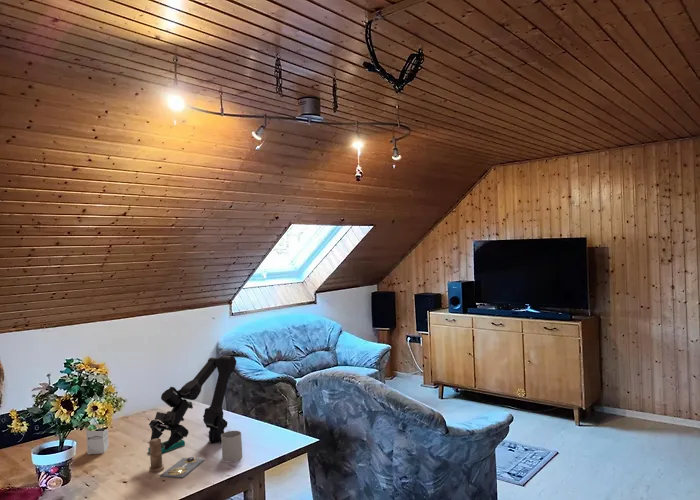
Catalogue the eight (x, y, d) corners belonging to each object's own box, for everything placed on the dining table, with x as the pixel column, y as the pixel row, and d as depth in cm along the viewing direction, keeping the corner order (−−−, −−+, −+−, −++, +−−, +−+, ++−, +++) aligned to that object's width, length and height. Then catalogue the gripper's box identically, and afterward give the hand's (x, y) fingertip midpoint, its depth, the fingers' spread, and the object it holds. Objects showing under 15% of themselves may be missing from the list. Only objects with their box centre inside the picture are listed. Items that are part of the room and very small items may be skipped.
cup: (224, 463, 220) (223, 439, 219) (220, 456, 227) (218, 433, 227) (244, 458, 223) (243, 435, 223) (239, 452, 231) (238, 429, 231)
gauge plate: (183, 459, 226) (182, 455, 226) (204, 460, 224) (204, 456, 224) (160, 476, 209) (159, 472, 209) (182, 478, 207) (182, 474, 207)
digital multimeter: (186, 445, 243) (186, 439, 243) (156, 456, 231) (156, 450, 231) (177, 442, 247) (177, 436, 247) (147, 453, 236) (147, 446, 236)
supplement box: (86, 455, 236) (85, 427, 236) (92, 449, 243) (90, 421, 243) (104, 453, 237) (102, 425, 237) (109, 447, 244) (107, 420, 244)
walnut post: (164, 465, 220) (162, 437, 220) (163, 471, 215) (162, 441, 215) (149, 468, 218) (148, 439, 218) (148, 473, 213) (147, 443, 213)
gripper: (151, 400, 227) (130, 435, 217) (181, 405, 217) (160, 441, 208) (167, 413, 233) (147, 447, 224) (197, 419, 224) (177, 454, 214)
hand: (157, 447), depth 217 cm, fingers open, 9 cm apart
